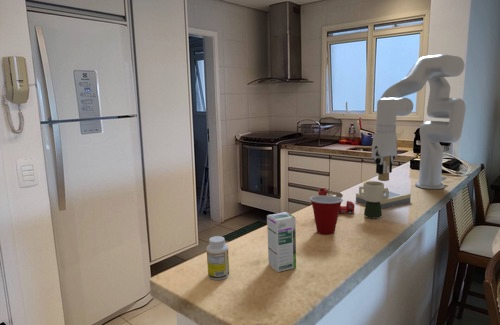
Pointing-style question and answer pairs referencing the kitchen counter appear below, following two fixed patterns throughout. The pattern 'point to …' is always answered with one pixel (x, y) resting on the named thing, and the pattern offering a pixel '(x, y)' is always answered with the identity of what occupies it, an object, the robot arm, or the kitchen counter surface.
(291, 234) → the syrup box
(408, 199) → the tray
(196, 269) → the kitchen counter surface
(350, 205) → the toy fire truck
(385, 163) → the sprinkles bottle
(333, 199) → the plastic cup
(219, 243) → the supplement bottle
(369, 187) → the character mug
